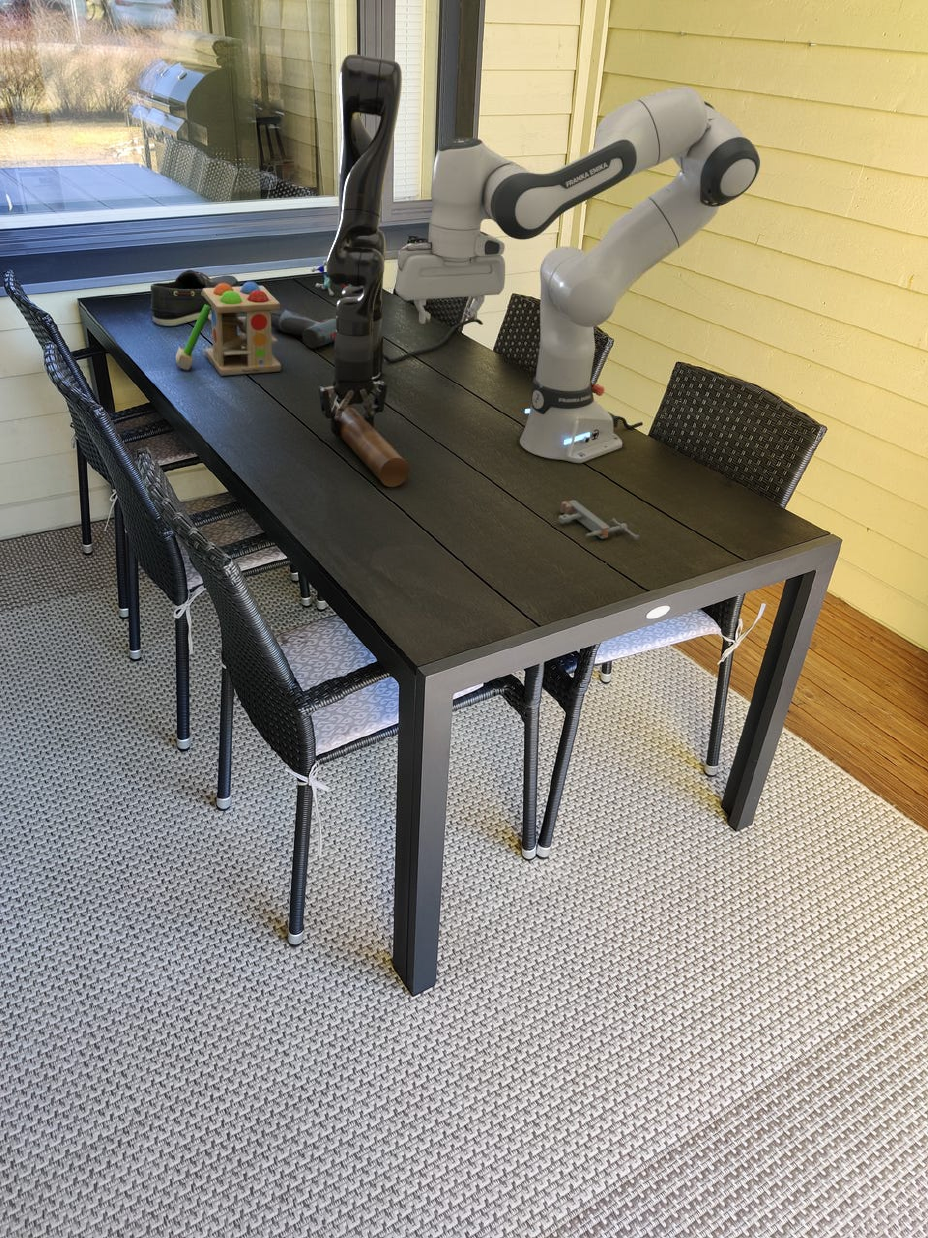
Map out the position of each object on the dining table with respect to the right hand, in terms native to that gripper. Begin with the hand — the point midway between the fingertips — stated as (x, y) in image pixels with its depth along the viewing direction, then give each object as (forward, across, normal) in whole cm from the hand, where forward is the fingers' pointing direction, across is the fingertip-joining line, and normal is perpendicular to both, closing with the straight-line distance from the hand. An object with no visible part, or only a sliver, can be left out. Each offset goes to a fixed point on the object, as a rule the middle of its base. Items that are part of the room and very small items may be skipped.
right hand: (447, 321), depth 177 cm
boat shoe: (+30, -20, +106) cm, 112 cm away
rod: (+30, -11, +8) cm, 33 cm away
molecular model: (+30, +21, +116) cm, 121 cm away
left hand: (+28, -11, +17) cm, 34 cm away
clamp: (+30, +16, -31) cm, 46 cm away
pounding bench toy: (+30, -24, +65) cm, 75 cm away
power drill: (+30, +3, +82) cm, 87 cm away
